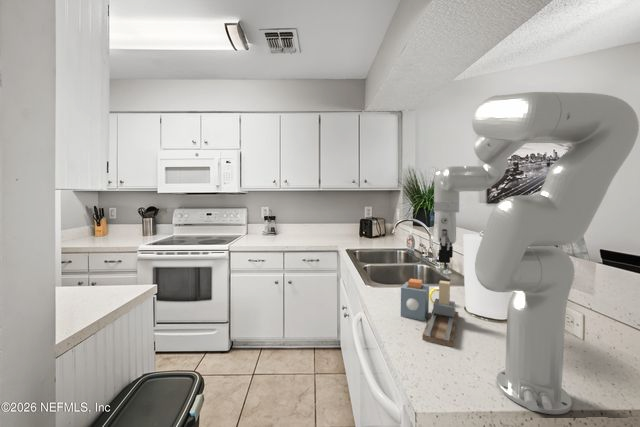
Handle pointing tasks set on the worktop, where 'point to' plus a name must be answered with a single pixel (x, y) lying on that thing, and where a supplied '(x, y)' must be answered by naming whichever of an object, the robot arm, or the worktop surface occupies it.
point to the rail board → (441, 329)
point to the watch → (432, 292)
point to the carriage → (444, 300)
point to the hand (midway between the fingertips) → (445, 259)
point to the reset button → (415, 283)
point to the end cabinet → (415, 302)
